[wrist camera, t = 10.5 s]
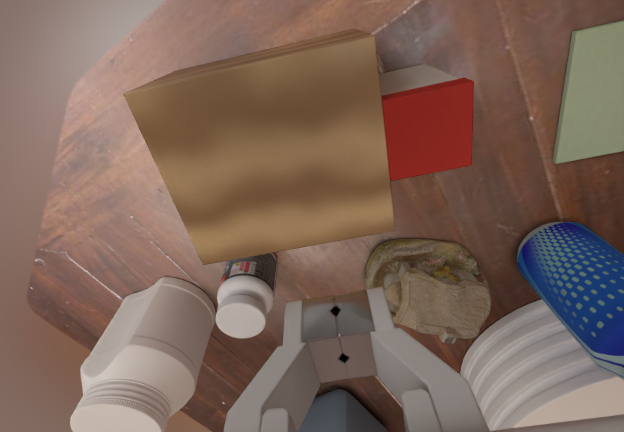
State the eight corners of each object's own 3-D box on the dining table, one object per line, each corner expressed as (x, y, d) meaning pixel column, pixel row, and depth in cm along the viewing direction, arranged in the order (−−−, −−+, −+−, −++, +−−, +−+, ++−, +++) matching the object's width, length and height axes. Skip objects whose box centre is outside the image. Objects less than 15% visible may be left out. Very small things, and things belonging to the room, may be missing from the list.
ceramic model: (494, 249, 41) (544, 313, 32) (451, 315, 46) (484, 385, 38) (382, 224, 39) (403, 285, 30) (351, 296, 44) (362, 365, 36)
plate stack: (565, 258, 42) (646, 335, 32) (704, 332, 48) (806, 414, 39) (422, 386, 54) (448, 469, 44) (549, 430, 61) (597, 511, 51)
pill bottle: (223, 240, 40) (201, 302, 31) (272, 232, 39) (263, 294, 31) (237, 278, 42) (220, 345, 34) (283, 272, 42) (277, 338, 33)
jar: (162, 346, 48) (110, 468, 36) (111, 303, 44) (30, 423, 31) (229, 316, 46) (199, 436, 33) (180, 267, 41) (124, 383, 28)
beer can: (569, 201, 38) (723, 311, 24) (596, 248, 41) (744, 368, 27) (498, 244, 40) (598, 364, 27) (528, 285, 44) (632, 410, 30)
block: (174, 71, 30) (122, 93, 22) (354, 28, 29) (375, 34, 20) (226, 207, 37) (202, 265, 29) (374, 178, 36) (395, 230, 27)
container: (382, 100, 22) (474, 81, 22) (360, 76, 31) (426, 62, 30) (390, 181, 25) (472, 165, 25) (368, 138, 34) (429, 126, 33)
